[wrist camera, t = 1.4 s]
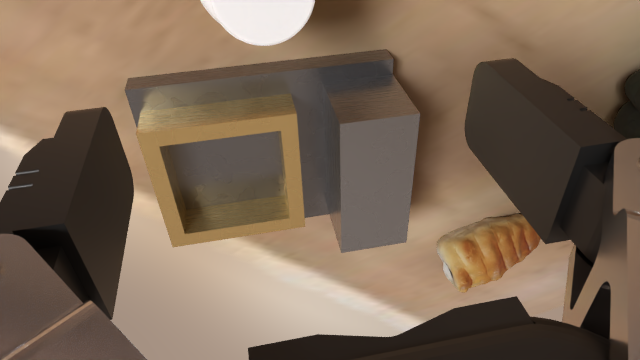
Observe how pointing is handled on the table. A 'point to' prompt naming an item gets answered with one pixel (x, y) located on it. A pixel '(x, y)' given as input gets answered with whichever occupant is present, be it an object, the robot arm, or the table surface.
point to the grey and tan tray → (280, 148)
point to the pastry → (485, 249)
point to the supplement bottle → (261, 18)
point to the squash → (630, 109)
